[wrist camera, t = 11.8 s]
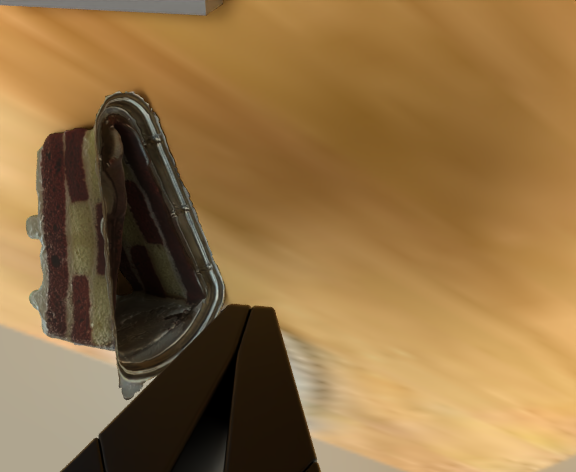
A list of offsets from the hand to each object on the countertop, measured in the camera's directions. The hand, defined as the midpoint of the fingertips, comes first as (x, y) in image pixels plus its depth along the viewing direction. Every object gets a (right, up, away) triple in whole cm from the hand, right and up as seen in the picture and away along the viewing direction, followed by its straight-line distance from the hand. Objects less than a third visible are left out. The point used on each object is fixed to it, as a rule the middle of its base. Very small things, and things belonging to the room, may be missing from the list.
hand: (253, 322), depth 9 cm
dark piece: (-7, +7, +14) cm, 17 cm away
